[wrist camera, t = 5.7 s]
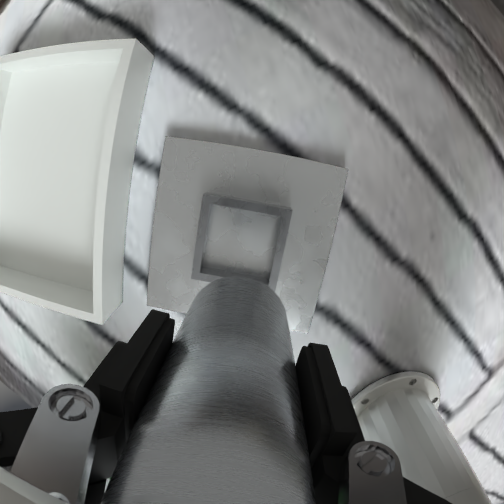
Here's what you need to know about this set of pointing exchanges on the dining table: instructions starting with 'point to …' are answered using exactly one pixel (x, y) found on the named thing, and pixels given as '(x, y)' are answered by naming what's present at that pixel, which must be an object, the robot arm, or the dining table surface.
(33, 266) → the bin
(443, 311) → the dining table surface
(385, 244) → the dining table surface
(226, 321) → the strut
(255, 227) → the socket plate
